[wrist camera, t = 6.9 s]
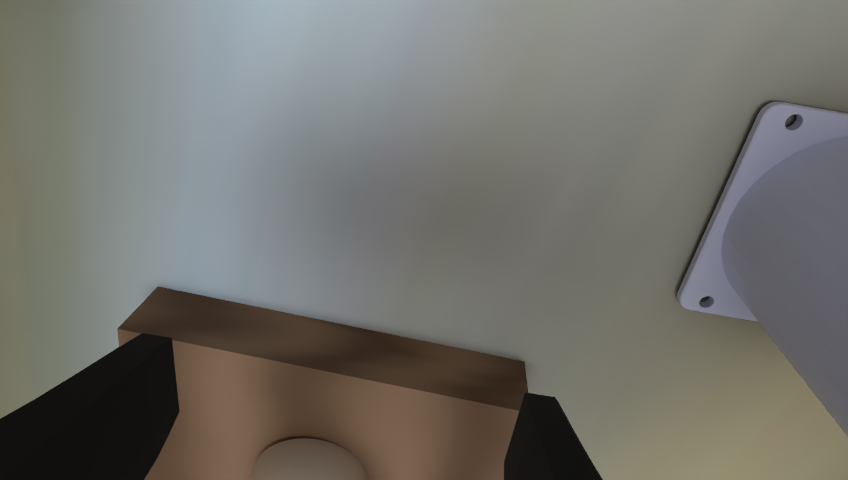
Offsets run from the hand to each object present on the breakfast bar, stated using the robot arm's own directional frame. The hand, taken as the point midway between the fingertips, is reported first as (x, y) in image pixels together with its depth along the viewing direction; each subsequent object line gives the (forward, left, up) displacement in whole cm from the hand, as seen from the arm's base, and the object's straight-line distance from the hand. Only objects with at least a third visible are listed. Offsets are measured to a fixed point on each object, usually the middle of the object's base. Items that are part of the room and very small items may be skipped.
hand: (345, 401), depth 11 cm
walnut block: (+2, +12, -11) cm, 17 cm away
